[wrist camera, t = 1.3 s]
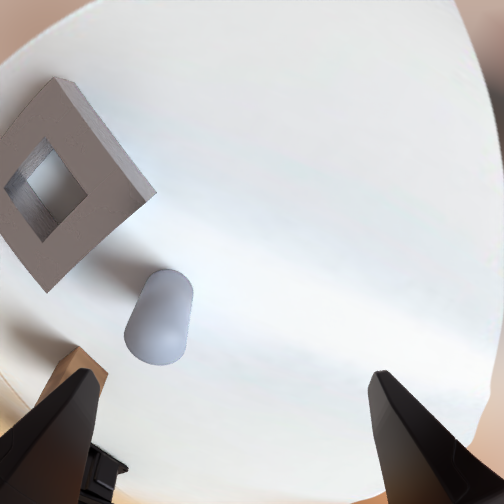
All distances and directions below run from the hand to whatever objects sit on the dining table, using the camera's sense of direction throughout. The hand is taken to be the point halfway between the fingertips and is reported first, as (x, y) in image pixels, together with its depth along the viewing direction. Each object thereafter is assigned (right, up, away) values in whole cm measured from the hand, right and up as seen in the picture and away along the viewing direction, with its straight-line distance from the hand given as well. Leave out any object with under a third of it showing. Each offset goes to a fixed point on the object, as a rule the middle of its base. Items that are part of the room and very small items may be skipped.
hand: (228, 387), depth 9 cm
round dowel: (-5, +1, +14) cm, 15 cm away
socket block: (-12, +9, +10) cm, 18 cm away
